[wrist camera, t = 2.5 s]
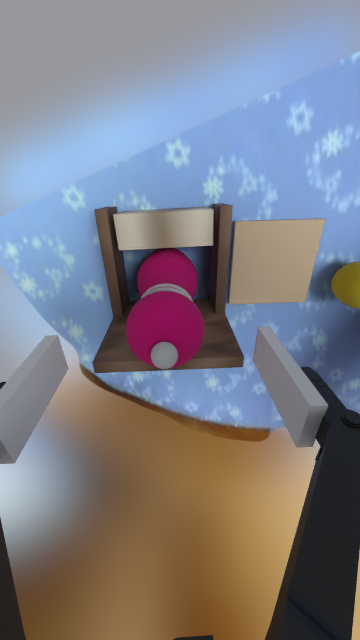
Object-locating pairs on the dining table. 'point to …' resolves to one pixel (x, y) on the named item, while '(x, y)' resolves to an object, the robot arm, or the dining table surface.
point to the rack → (218, 334)
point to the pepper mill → (166, 311)
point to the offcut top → (164, 228)
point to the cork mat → (273, 260)
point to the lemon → (347, 284)
